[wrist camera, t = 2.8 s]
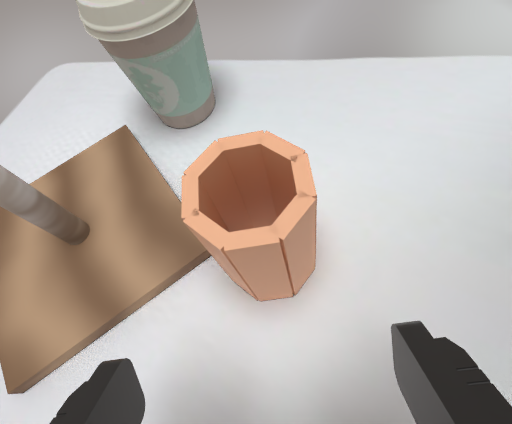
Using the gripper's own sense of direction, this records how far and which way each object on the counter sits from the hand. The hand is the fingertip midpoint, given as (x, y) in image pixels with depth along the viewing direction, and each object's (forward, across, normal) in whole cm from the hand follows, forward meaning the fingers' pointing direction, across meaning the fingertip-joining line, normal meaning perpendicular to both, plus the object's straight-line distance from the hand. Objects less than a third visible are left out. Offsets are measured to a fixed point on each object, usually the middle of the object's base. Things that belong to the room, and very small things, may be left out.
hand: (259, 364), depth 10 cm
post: (+16, +15, 0) cm, 22 cm away
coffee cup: (+26, +6, -9) cm, 28 cm away
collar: (+13, 0, +3) cm, 14 cm away
